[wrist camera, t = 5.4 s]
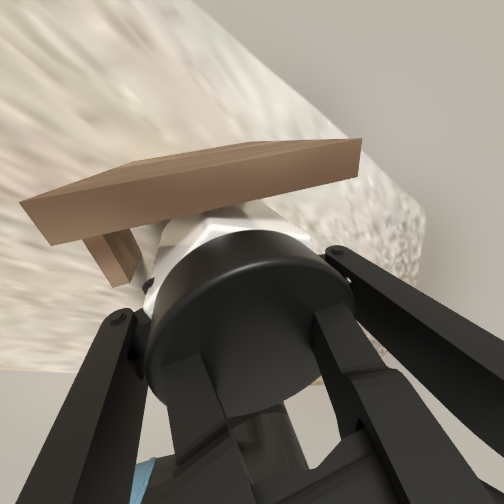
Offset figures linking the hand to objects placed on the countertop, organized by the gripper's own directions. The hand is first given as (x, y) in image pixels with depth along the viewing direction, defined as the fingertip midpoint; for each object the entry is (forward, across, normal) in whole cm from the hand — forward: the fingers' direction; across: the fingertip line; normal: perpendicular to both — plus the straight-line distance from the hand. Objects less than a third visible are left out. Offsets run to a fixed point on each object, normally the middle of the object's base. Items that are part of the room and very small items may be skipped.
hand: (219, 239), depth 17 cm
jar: (+1, 0, 0) cm, 1 cm away
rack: (+8, +2, -2) cm, 9 cm away
